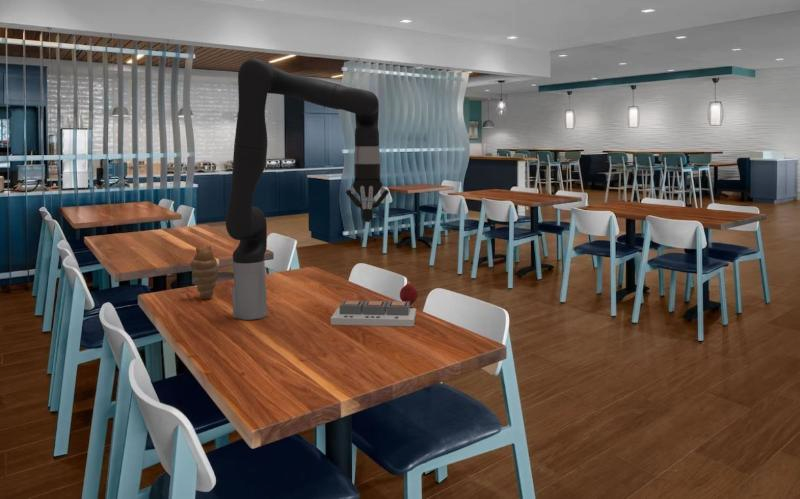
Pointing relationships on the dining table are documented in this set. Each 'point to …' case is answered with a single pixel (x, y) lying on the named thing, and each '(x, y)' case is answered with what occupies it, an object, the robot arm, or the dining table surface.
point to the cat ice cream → (204, 271)
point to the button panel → (374, 314)
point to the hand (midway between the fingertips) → (368, 221)
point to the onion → (408, 293)
